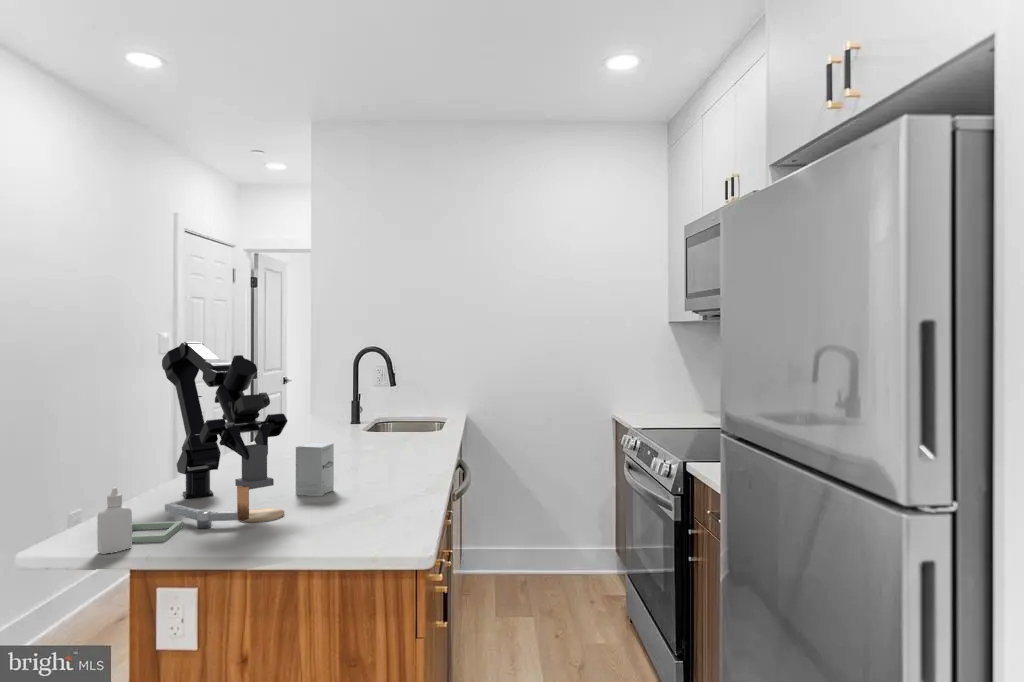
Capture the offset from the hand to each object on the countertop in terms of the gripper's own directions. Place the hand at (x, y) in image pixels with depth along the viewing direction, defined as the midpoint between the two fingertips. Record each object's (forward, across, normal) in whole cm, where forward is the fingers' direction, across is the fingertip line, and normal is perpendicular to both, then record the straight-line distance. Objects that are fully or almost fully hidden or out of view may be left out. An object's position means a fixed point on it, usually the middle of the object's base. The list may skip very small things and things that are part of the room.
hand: (257, 457), depth 151 cm
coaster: (+9, +1, +10) cm, 14 cm away
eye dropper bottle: (+11, -29, +9) cm, 33 cm away
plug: (+4, 0, +6) cm, 7 cm away
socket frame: (+6, -21, +13) cm, 26 cm away
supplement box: (+1, +22, +18) cm, 29 cm away
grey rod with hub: (+6, -9, +13) cm, 17 cm away
